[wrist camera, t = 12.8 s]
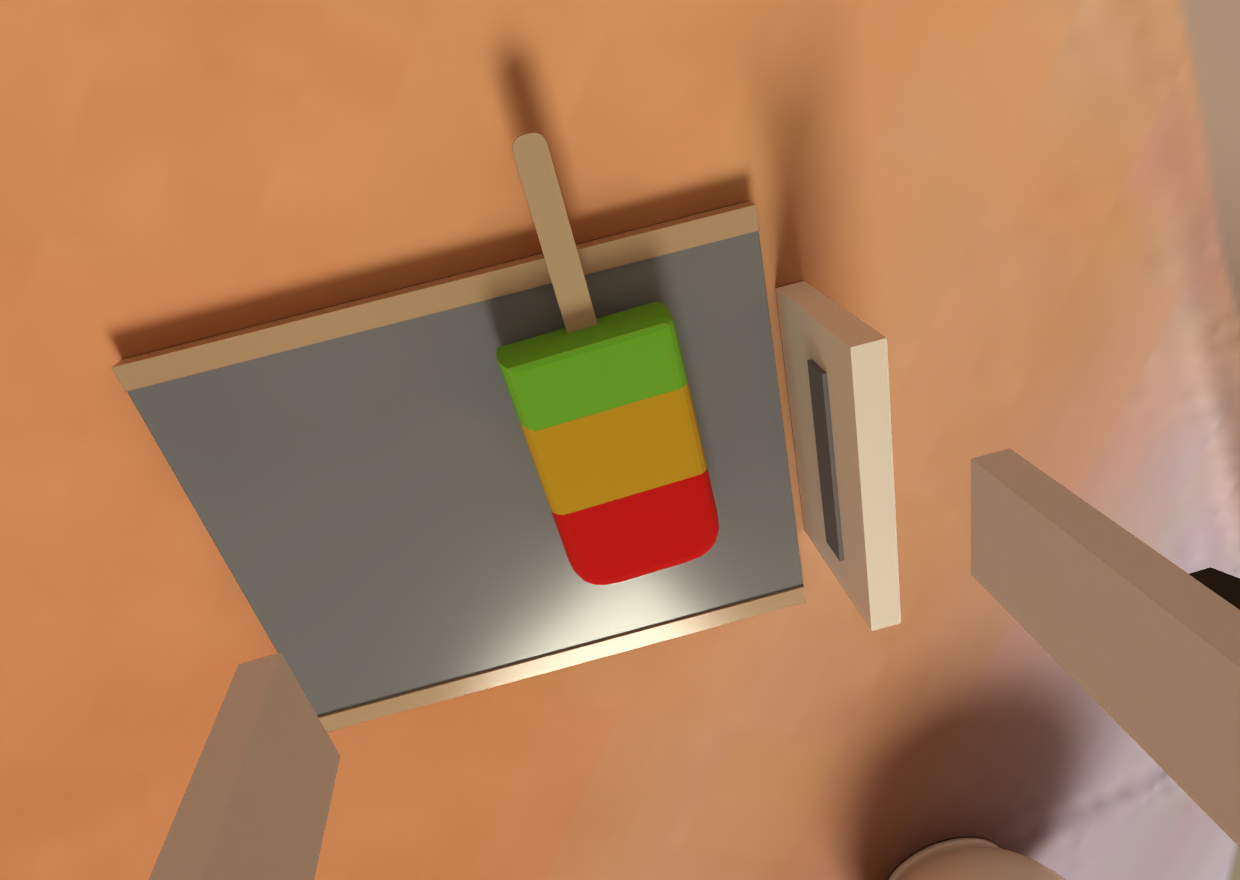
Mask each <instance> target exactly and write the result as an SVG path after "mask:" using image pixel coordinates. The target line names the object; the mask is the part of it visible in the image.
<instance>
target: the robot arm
mask: <svg viewBox="0 0 1240 880" xmlns="http://www.w3.org/2000/svg"><path fill="white" fill-rule="evenodd" d="M971 575H972V576H973V577H974V578H975V579H976V580H977V581H978V582H979V583H980V584H981V585H982V586H983V587H984V588H985V589H986V590H987V591H988V592H989V593H990V594H991V595H992V596H993V597H994V598H995V599H996V600H997V601H998V602H999V603H1000V604H1001V605H1002V606H1003V607H1004V608H1005V609H1006V610H1007V611H1008V612H1009V613H1010V614H1011V615H1012V616H1013V618H1014V619H1015V620H1016V621H1017V622H1018V623H1019V624H1020V625H1021V626H1022V627H1023V628H1024V629H1025V630H1026V631H1027V632H1028V633H1029V634H1030V635H1031V636H1032V637H1033V638H1034V639H1035V640H1036V641H1037V642H1038V643H1039V644H1040V645H1041V646H1042V647H1043V648H1044V649H1045V650H1046V651H1047V652H1048V653H1049V654H1050V655H1051V656H1052V657H1053V658H1054V659H1055V660H1056V661H1057V662H1058V663H1059V664H1060V665H1061V666H1062V667H1063V668H1064V669H1065V670H1066V671H1067V672H1068V673H1069V674H1070V675H1071V676H1072V677H1073V678H1074V679H1075V680H1076V681H1077V682H1078V684H1079V685H1080V686H1081V687H1082V688H1083V689H1084V690H1085V691H1086V692H1087V693H1088V694H1089V695H1090V696H1091V697H1092V698H1093V699H1094V700H1095V701H1096V702H1097V703H1098V704H1099V705H1100V706H1101V707H1102V708H1103V709H1104V710H1105V711H1106V712H1107V713H1108V714H1109V715H1110V716H1111V717H1112V718H1113V719H1114V720H1115V721H1116V722H1117V723H1118V724H1119V725H1120V726H1121V727H1122V728H1123V729H1124V730H1125V731H1126V732H1127V733H1128V734H1129V735H1130V736H1131V737H1132V738H1133V739H1134V740H1135V741H1136V742H1137V743H1138V744H1139V745H1140V746H1141V747H1142V748H1143V749H1144V751H1145V752H1146V753H1147V754H1148V755H1149V756H1150V757H1151V758H1152V759H1153V760H1154V761H1155V762H1156V763H1157V764H1158V765H1159V766H1160V767H1161V768H1162V769H1163V770H1164V771H1165V772H1166V773H1167V774H1168V775H1169V776H1170V777H1171V778H1172V779H1173V780H1174V781H1175V782H1176V783H1177V784H1178V785H1179V786H1180V787H1181V788H1182V789H1183V790H1184V791H1185V792H1186V793H1187V794H1188V795H1189V796H1190V797H1191V798H1192V799H1193V800H1194V801H1195V802H1196V803H1197V804H1198V805H1199V806H1200V807H1201V808H1202V809H1203V810H1204V811H1205V812H1206V813H1207V814H1208V815H1209V817H1210V818H1211V819H1212V820H1213V821H1214V822H1215V823H1216V824H1217V825H1218V826H1219V827H1220V828H1221V829H1222V830H1223V831H1224V832H1225V833H1226V834H1227V835H1228V836H1229V837H1230V838H1231V839H1232V840H1233V841H1234V842H1235V843H1236V844H1237V845H1238V846H1239V847H1240V579H1239V578H1237V577H1234V576H1232V575H1229V574H1226V573H1224V572H1221V571H1218V570H1216V569H1213V568H1207V569H1204V570H1200V571H1197V572H1194V573H1190V574H1188V573H1186V572H1185V571H1183V570H1182V569H1181V568H1179V567H1178V566H1176V565H1175V564H1173V563H1172V562H1171V561H1169V560H1168V559H1166V558H1165V557H1163V556H1162V555H1161V554H1159V553H1158V552H1156V551H1155V550H1153V549H1152V548H1151V547H1149V546H1148V545H1146V544H1145V543H1144V542H1142V541H1141V540H1139V539H1138V538H1136V537H1135V536H1134V535H1132V534H1131V533H1129V532H1128V531H1126V530H1125V529H1124V528H1122V527H1121V526H1119V525H1118V524H1116V523H1115V522H1114V521H1112V520H1111V519H1109V518H1108V517H1106V516H1105V515H1104V514H1102V513H1101V512H1099V511H1098V510H1096V509H1095V508H1094V507H1092V506H1091V505H1089V504H1088V503H1086V502H1085V501H1084V500H1082V499H1081V498H1079V497H1078V496H1077V495H1075V494H1074V493H1072V492H1071V491H1069V490H1068V489H1067V488H1065V487H1064V486H1062V485H1061V484H1059V483H1058V482H1057V481H1055V480H1054V479H1052V478H1051V477H1049V476H1048V475H1047V474H1045V473H1044V472H1042V471H1041V470H1039V469H1038V468H1037V467H1035V466H1034V465H1032V464H1031V463H1029V462H1028V461H1027V460H1025V459H1024V458H1022V457H1021V456H1020V455H1018V454H1017V453H1015V452H1014V451H1012V450H1011V449H1010V448H1009V449H1005V450H1002V451H998V452H995V453H991V454H988V455H984V456H980V457H977V458H973V459H971ZM339 759H340V755H339V753H338V751H337V750H336V748H335V746H334V744H333V742H332V741H331V739H330V737H329V735H328V734H327V732H326V730H325V728H324V727H323V725H322V723H321V721H320V720H319V718H318V716H317V714H316V713H315V711H314V709H313V707H312V706H311V704H310V702H309V700H308V699H307V697H306V695H305V693H304V692H303V690H302V688H301V686H300V685H299V683H298V681H297V679H296V677H295V676H294V674H293V672H292V670H291V669H290V667H289V665H288V663H287V662H286V660H285V658H284V656H283V655H282V653H277V654H274V655H270V656H266V657H263V658H259V659H256V660H252V661H249V662H245V663H241V664H239V665H238V667H237V670H236V672H235V675H234V677H233V679H232V682H231V684H230V687H229V689H228V691H227V694H226V696H225V699H224V701H223V703H222V706H221V708H220V711H219V713H218V715H217V718H216V720H215V722H214V725H213V727H212V730H211V732H210V734H209V737H208V739H207V742H206V744H205V746H204V749H203V751H202V754H201V756H200V758H199V761H198V763H197V766H196V768H195V770H194V773H193V775H192V778H191V780H190V782H189V785H188V787H187V789H186V792H185V794H184V797H183V799H182V801H181V804H180V806H179V809H178V811H177V813H176V816H175V818H174V821H173V823H172V825H171V828H170V830H169V833H168V835H167V837H166V840H165V842H164V844H163V847H162V849H161V852H160V854H159V856H158V859H157V861H156V864H155V866H154V868H153V871H152V873H151V876H150V878H149V880H314V877H315V872H316V867H317V863H318V858H319V853H320V849H321V844H322V839H323V834H324V830H325V825H326V820H327V816H328V811H329V806H330V801H331V797H332V792H333V787H334V782H335V778H336V773H337V768H338V764H339Z"/></svg>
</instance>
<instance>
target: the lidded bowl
mask: <svg viewBox="0 0 1240 880" xmlns="http://www.w3.org/2000/svg"><path fill="white" fill-rule="evenodd" d="M888 880H1065V879H1064V878H1063V877H1061V876H1060V875H1059V874H1057V873H1056V872H1055V871H1053V870H1051V869H1050V868H1048V867H1046V866H1044V865H1042V864H1041V863H1039V862H1037V861H1035V860H1033V859H1032V858H1029V857H1027V856H1024V855H1021V854H1019V853H1016V852H1013V851H1009V850H1006V849H1001V848H999V847H998V846H997V845H996V844H994V843H993V842H991V841H988V840H985V839H980V838H967V837H965V838H956V839H951V840H946V841H943V842H939V843H936V844H934V845H931V846H929V847H926V848H924V849H922V850H920V851H919V852H917V853H915V854H914V855H912V856H910V857H909V858H908V859H906V860H905V861H904V862H903V863H901V864H900V865H899V866H898V867H897V868H896V869H895V870H894V871H893V873H892V874H891V875H890V877H889V878H888Z"/></svg>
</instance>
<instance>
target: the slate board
mask: <svg viewBox="0 0 1240 880" xmlns="http://www.w3.org/2000/svg"><path fill="white" fill-rule="evenodd" d="M758 231H759V225H758V217H757V209H756V204H754V203H752V202H750V201H748V202H744V203H740V204H736V205H732V206H728V207H724V208H720V209H716V210H712V211H708V212H704V213H700V214H696V215H692V216H688V217H684V218H680V219H676V220H672V221H668V222H664V223H661V224H657V225H653V226H649V227H645V228H641V229H637V230H633V231H629V232H625V233H621V234H617V235H613V236H609V237H605V238H601V239H597V240H593V241H589V242H585V243H581V244H577V245H576V248H577V252H578V255H579V259H580V263H581V266H582V270H583V273H584V277H585V280H586V284H587V288H588V291H589V295H590V298H591V302H592V306H593V309H594V313H595V316H596V319H597V318H601V317H604V316H607V315H611V314H614V313H618V312H621V311H625V310H628V309H631V308H635V307H638V306H642V305H645V304H648V303H652V302H660V303H662V304H664V305H665V306H666V307H667V308H668V310H669V311H670V313H671V314H672V317H673V320H674V323H675V327H676V332H677V336H678V340H679V345H680V349H681V354H682V358H683V362H684V367H685V371H686V376H687V380H688V385H689V389H690V393H691V398H692V402H693V407H694V411H695V416H696V420H697V424H698V429H699V433H700V438H701V442H702V447H703V451H704V455H705V460H706V464H707V469H708V473H709V478H710V482H711V486H712V491H713V495H714V500H715V504H716V509H717V513H718V520H719V531H718V535H717V539H716V542H715V544H714V545H713V547H712V548H711V549H710V550H709V551H708V552H706V553H705V554H704V555H702V556H701V557H698V558H696V559H693V560H691V561H688V562H686V563H682V564H679V565H676V566H672V567H669V568H666V569H662V570H659V571H656V572H652V573H649V574H646V575H642V576H639V577H636V578H632V579H629V580H626V581H622V582H618V583H613V584H608V585H594V584H591V583H588V582H586V581H584V580H583V579H582V578H581V577H580V576H579V575H578V574H577V573H575V572H574V570H573V568H572V566H571V564H570V562H569V560H568V557H567V555H566V552H565V549H564V546H563V543H562V540H561V538H560V535H559V532H558V529H557V526H556V524H555V521H554V518H553V515H552V512H551V510H550V507H549V504H548V501H547V498H546V496H545V493H544V490H543V487H542V484H541V482H540V479H539V476H538V473H537V470H536V467H535V465H534V462H533V459H532V456H531V453H530V451H529V448H528V445H527V442H526V439H525V437H524V434H523V431H522V428H521V425H520V422H519V420H518V417H517V414H516V411H515V408H514V406H513V403H512V400H511V397H510V394H509V392H508V389H507V386H506V383H505V380H504V377H503V375H502V372H501V369H500V366H499V363H498V361H497V358H496V349H497V348H498V347H501V346H505V345H508V344H512V343H515V342H519V341H522V340H525V339H529V338H532V337H536V336H539V335H542V334H546V333H549V332H553V331H556V330H560V329H563V328H565V324H564V321H563V318H562V314H561V311H560V308H559V304H558V301H557V298H556V294H555V291H554V288H553V284H552V281H551V278H550V274H549V271H548V268H547V265H546V261H545V258H544V255H543V253H542V254H538V255H534V256H530V257H526V258H522V259H518V260H514V261H510V262H506V263H502V264H498V265H494V266H490V267H487V268H483V269H479V270H475V271H471V272H467V273H463V274H459V275H455V276H451V277H447V278H443V279H439V280H435V281H431V282H427V283H423V284H419V285H415V286H411V287H407V288H403V289H400V290H396V291H392V292H388V293H384V294H380V295H376V296H372V297H368V298H364V299H360V300H356V301H352V302H348V303H344V304H340V305H336V306H332V307H328V308H324V309H320V310H316V311H313V312H309V313H305V314H301V315H297V316H293V317H289V318H285V319H281V320H277V321H273V322H269V323H265V324H261V325H257V326H253V327H249V328H245V329H241V330H237V331H233V332H229V333H225V334H222V335H218V336H214V337H210V338H206V339H202V340H198V341H194V342H190V343H186V344H182V345H178V346H174V347H170V348H166V349H162V350H158V351H154V352H150V353H146V354H142V355H138V356H135V357H131V358H127V359H123V360H121V361H119V362H118V363H117V364H116V365H114V366H113V367H112V370H113V372H114V373H115V375H116V377H117V379H118V380H119V382H120V384H121V386H122V387H123V389H124V391H125V392H126V391H127V392H128V394H129V396H130V397H131V399H132V401H133V403H134V404H135V406H136V408H137V409H138V411H139V413H140V415H141V416H142V418H143V420H144V422H145V423H146V425H147V427H148V429H149V430H150V432H151V434H152V435H153V437H154V439H155V441H156V442H157V444H158V446H159V448H160V449H161V451H162V453H163V455H164V456H165V458H166V460H167V461H168V463H169V465H170V467H171V468H172V470H173V472H174V474H175V475H176V477H177V479H178V480H179V482H180V484H181V486H182V487H183V489H184V491H185V493H186V494H187V496H188V498H189V500H190V501H191V503H192V505H193V506H194V508H195V510H196V512H197V513H198V515H199V517H200V519H201V520H202V522H203V524H204V526H205V527H206V529H207V531H208V532H209V534H210V536H211V538H212V539H213V541H214V543H215V545H216V546H217V548H218V550H219V552H220V553H221V555H222V557H223V558H224V560H225V562H226V564H227V565H228V567H229V569H230V571H231V572H232V574H233V576H234V577H235V579H236V581H237V583H238V584H239V586H240V588H241V590H242V591H243V593H244V595H245V597H246V598H247V600H248V602H249V603H250V605H251V607H252V609H253V610H254V612H255V614H256V616H257V617H258V619H259V621H260V623H261V624H262V626H263V628H264V629H265V631H266V633H267V635H268V636H269V638H270V640H271V642H272V643H273V645H274V647H275V649H276V650H277V652H278V653H282V655H283V656H284V658H285V660H286V662H287V663H288V665H289V667H290V669H291V670H292V672H293V674H294V676H295V677H296V679H297V681H298V683H299V685H300V686H301V688H302V690H303V692H304V693H305V695H306V697H307V699H308V700H309V702H310V704H311V706H312V707H313V709H314V711H315V713H316V714H317V716H318V718H319V720H320V721H321V723H322V725H323V727H324V728H325V730H326V732H329V731H333V730H336V729H340V728H344V727H348V726H351V725H355V724H359V723H362V722H366V721H370V720H373V719H377V718H381V717H384V716H388V715H392V714H396V713H399V712H403V711H407V710H410V709H414V708H418V707H421V706H425V705H429V704H432V703H436V702H440V701H443V700H447V699H451V698H455V697H458V696H462V695H466V694H469V693H473V692H477V691H480V690H484V689H488V688H491V687H495V686H499V685H503V684H506V683H510V682H514V681H517V680H521V679H525V678H528V677H532V676H536V675H539V674H543V673H547V672H551V671H554V670H558V669H562V668H565V667H569V666H573V665H576V664H580V663H584V662H587V661H591V660H595V659H599V658H602V657H606V656H610V655H613V654H617V653H621V652H624V651H628V650H632V649H635V648H639V647H643V646H647V645H650V644H654V643H658V642H661V641H665V640H669V639H672V638H676V637H680V636H683V635H687V634H691V633H695V632H698V631H702V630H706V629H709V628H713V627H717V626H720V625H724V624H728V623H731V622H735V621H739V620H743V619H746V618H750V617H754V616H757V615H761V614H765V613H768V612H772V611H776V610H779V609H783V608H787V607H791V606H794V605H798V604H802V603H805V602H806V598H805V590H804V586H803V580H802V572H801V564H800V556H799V548H798V540H797V532H796V524H795V516H794V508H793V501H792V493H791V485H790V477H789V469H788V461H787V453H786V445H785V437H784V429H783V422H782V414H781V406H780V398H779V390H778V382H777V374H776V366H775V358H774V350H773V342H772V335H771V327H770V319H769V311H768V303H767V295H766V287H765V279H764V271H763V263H762V256H761V248H760V240H759V232H758Z"/></svg>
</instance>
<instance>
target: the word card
mask: <svg viewBox="0 0 1240 880" xmlns="http://www.w3.org/2000/svg"><path fill="white" fill-rule="evenodd" d="M775 289H776V297H777V306H778V314H779V322H780V331H781V339H782V347H783V356H784V364H785V372H786V380H787V389H788V397H789V405H790V414H791V422H792V430H793V439H794V447H795V455H796V464H797V472H798V480H799V489H800V497H801V505H802V514H803V522H804V530H805V532H806V533H807V535H808V536H809V538H810V539H811V541H812V542H813V544H814V545H815V547H816V548H817V550H818V551H819V553H820V554H821V556H822V557H823V559H824V560H825V562H826V563H827V565H828V566H829V568H830V569H831V571H832V572H833V574H834V575H835V577H836V578H837V580H838V581H839V583H840V584H841V586H842V587H843V589H844V590H845V592H846V593H847V595H848V596H849V598H850V599H851V601H852V602H853V604H854V605H855V607H856V608H857V610H858V611H859V613H860V614H861V616H862V617H863V619H864V620H865V622H866V623H867V625H868V626H869V628H870V630H871V631H874V630H877V629H881V628H885V627H888V626H892V625H896V624H899V623H901V612H900V592H899V572H898V552H897V532H896V512H895V492H894V472H893V452H892V432H891V412H890V391H889V371H888V351H887V338H886V337H885V336H883V335H882V334H880V333H879V332H877V331H876V330H874V329H873V328H872V327H870V326H869V325H867V324H866V323H864V322H863V321H861V320H860V319H859V318H857V317H856V316H854V315H853V314H851V313H850V312H848V311H847V310H846V309H844V308H843V307H841V306H840V305H838V304H837V303H835V302H834V301H833V300H831V299H830V298H828V297H827V296H825V295H824V294H822V293H821V292H820V291H818V290H817V289H815V288H814V287H812V286H811V285H809V284H808V283H807V282H805V281H802V282H798V283H794V284H790V285H786V286H782V287H778V288H775Z"/></svg>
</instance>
